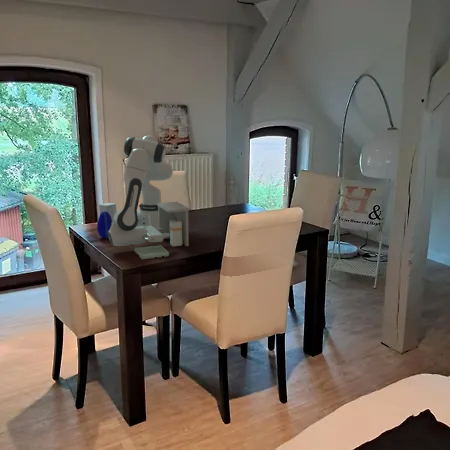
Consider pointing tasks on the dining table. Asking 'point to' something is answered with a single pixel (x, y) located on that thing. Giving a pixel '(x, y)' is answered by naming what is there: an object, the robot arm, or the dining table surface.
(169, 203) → the bay
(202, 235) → the dining table surface
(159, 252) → the tray
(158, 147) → the robot arm
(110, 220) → the ornament
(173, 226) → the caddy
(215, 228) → the dining table surface
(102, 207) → the skincare box
